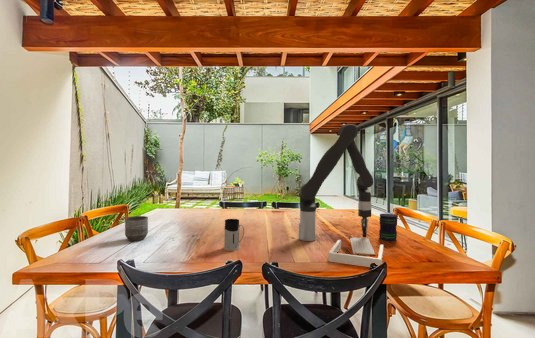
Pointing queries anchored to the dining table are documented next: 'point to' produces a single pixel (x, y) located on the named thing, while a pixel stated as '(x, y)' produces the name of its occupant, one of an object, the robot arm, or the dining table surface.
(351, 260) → the frame
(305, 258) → the dining table surface
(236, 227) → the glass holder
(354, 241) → the baseboard
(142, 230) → the planter
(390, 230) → the storage jar
